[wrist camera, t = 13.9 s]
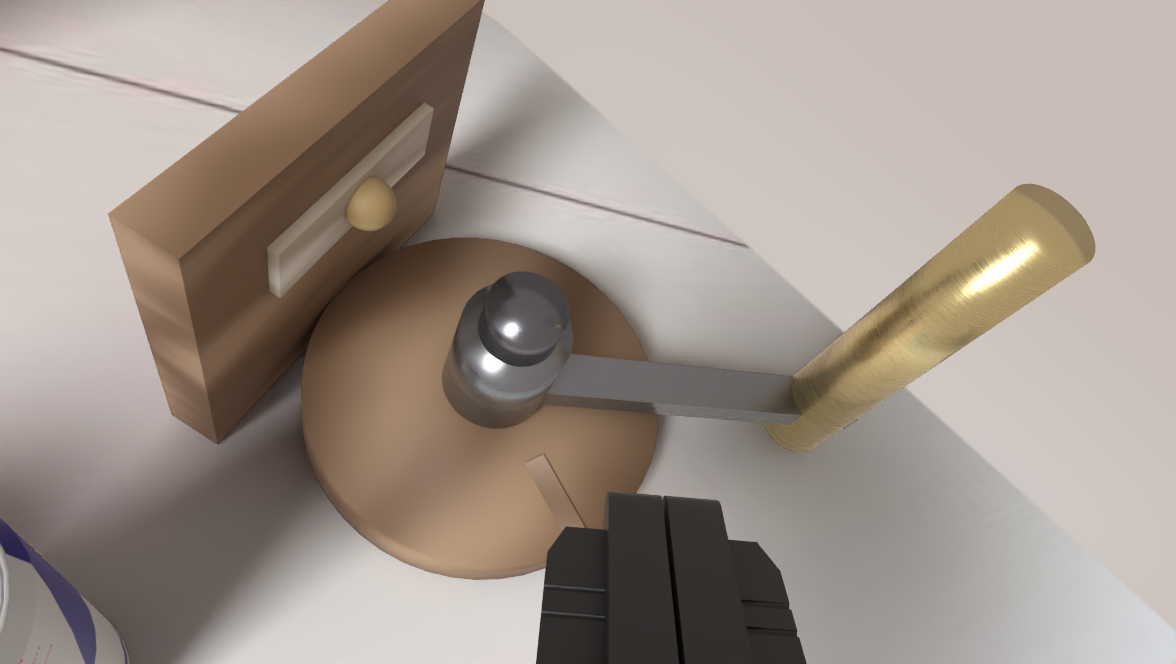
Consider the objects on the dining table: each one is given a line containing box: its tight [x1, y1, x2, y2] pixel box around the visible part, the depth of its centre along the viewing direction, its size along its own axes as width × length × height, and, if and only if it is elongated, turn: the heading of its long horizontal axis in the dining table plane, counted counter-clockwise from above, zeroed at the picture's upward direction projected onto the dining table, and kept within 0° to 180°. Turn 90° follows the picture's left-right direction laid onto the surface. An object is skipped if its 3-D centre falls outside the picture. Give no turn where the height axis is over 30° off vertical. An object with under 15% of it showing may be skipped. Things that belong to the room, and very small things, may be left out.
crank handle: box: [442, 184, 1095, 452], centre depth 28 cm, size 18×4×15 cm, turn 93°
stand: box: [108, 0, 658, 580], centre depth 28 cm, size 16×14×12 cm
